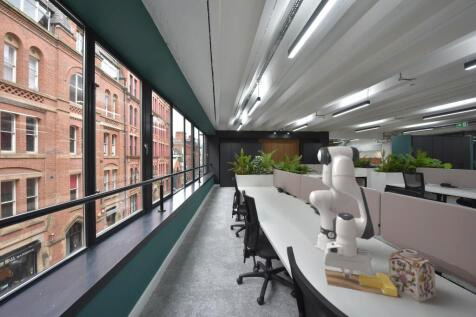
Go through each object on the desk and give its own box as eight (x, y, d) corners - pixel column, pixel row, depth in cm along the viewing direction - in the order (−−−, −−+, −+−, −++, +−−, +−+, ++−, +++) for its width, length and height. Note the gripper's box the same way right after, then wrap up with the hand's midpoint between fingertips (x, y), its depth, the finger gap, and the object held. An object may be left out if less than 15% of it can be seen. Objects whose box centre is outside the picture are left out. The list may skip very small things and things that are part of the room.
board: (324, 270, 102) (324, 269, 102) (388, 281, 92) (388, 279, 92) (327, 286, 89) (327, 284, 89) (402, 301, 79) (402, 298, 79)
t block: (357, 275, 96) (357, 269, 96) (386, 280, 92) (386, 274, 92) (363, 290, 84) (363, 283, 85) (397, 296, 80) (397, 289, 80)
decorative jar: (436, 297, 82) (435, 254, 82) (419, 304, 78) (418, 259, 78) (404, 281, 93) (403, 243, 94) (388, 286, 89) (387, 247, 90)
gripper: (369, 248, 92) (370, 277, 92) (323, 242, 99) (323, 270, 99) (373, 254, 86) (374, 285, 86) (324, 248, 93) (324, 277, 93)
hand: (346, 277), depth 92 cm, fingers closed
